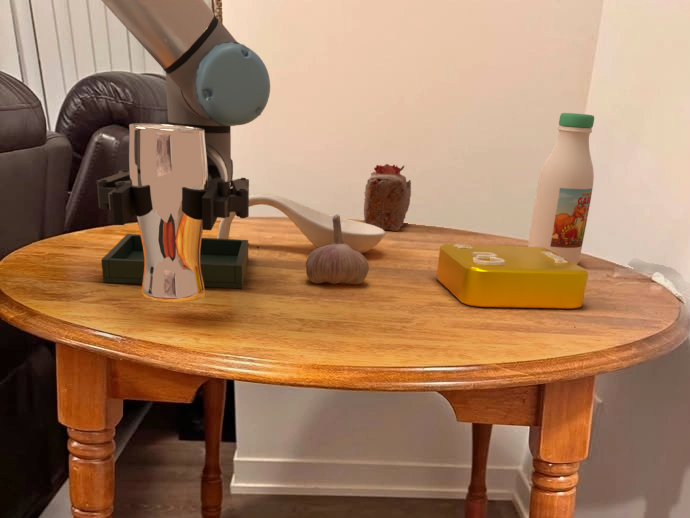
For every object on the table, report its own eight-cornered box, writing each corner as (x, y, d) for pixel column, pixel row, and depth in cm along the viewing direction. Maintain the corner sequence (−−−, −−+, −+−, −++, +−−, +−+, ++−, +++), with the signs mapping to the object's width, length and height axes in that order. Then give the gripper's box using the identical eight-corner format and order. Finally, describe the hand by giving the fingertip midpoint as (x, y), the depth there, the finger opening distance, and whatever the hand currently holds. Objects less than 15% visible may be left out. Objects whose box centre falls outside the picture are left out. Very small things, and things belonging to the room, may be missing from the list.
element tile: (587, 310, 91) (596, 268, 89) (465, 307, 88) (470, 264, 86) (540, 279, 104) (547, 243, 102) (432, 276, 101) (436, 239, 99)
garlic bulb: (295, 284, 93) (297, 214, 89) (320, 273, 99) (323, 207, 95) (354, 293, 91) (358, 222, 87) (376, 281, 97) (380, 215, 93)
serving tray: (103, 282, 88) (101, 259, 87) (128, 254, 102) (126, 233, 101) (242, 288, 90) (241, 266, 88) (248, 259, 103) (248, 239, 102)
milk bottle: (526, 265, 112) (550, 112, 103) (524, 255, 119) (547, 110, 110) (580, 270, 111) (610, 116, 102) (576, 260, 118) (603, 115, 109)
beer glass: (174, 307, 72) (167, 131, 65) (121, 293, 75) (109, 123, 68) (224, 294, 77) (222, 130, 70) (172, 281, 80) (166, 123, 73)
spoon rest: (380, 246, 117) (384, 196, 114) (386, 263, 107) (391, 208, 104) (223, 237, 116) (222, 186, 112) (213, 253, 105) (212, 198, 102)
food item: (364, 216, 142) (368, 158, 137) (408, 219, 142) (413, 161, 137) (360, 229, 130) (364, 166, 125) (408, 232, 130) (414, 169, 125)
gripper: (278, 219, 91) (275, 261, 71) (104, 209, 89) (49, 249, 69) (280, 150, 87) (277, 173, 67) (99, 137, 85) (39, 157, 65)
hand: (162, 211), depth 68 cm, fingers closed on beer glass, 7 cm apart
